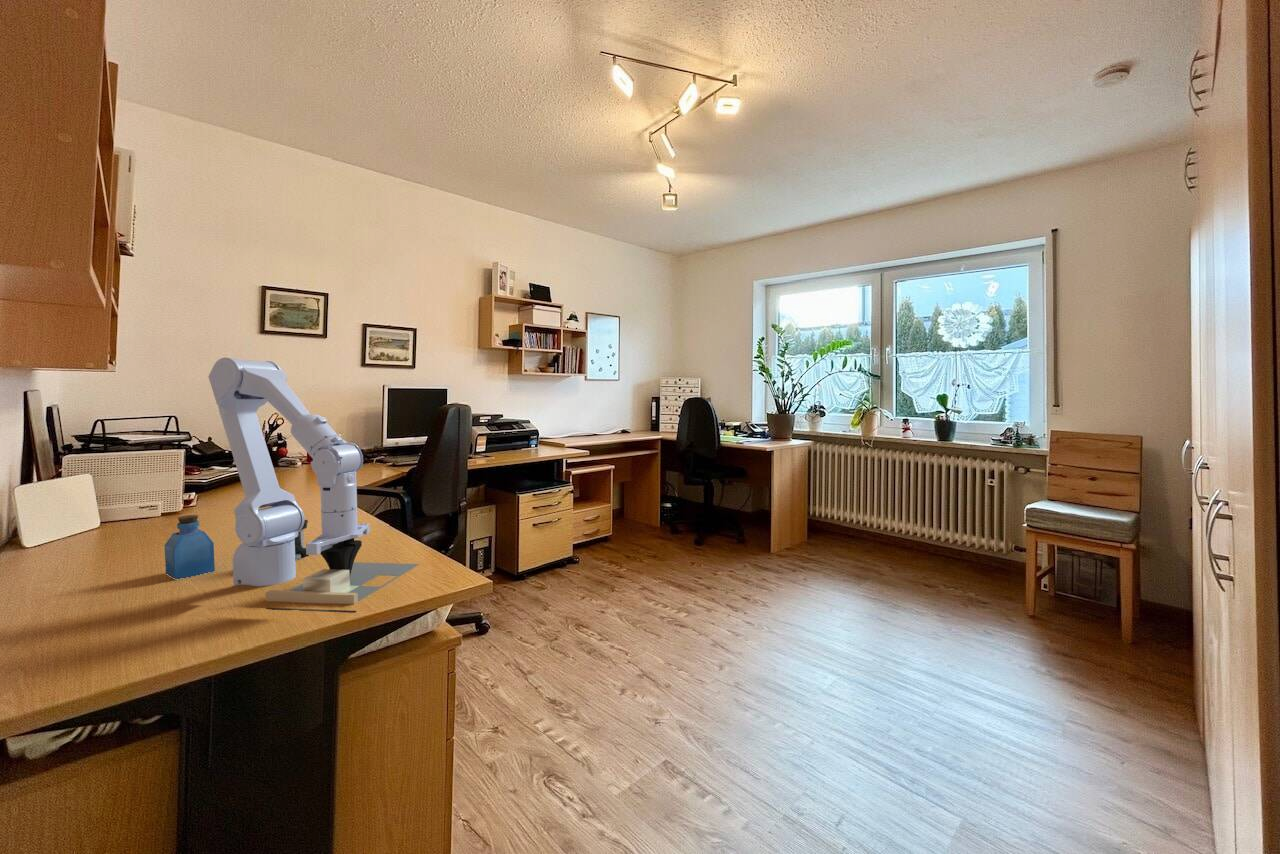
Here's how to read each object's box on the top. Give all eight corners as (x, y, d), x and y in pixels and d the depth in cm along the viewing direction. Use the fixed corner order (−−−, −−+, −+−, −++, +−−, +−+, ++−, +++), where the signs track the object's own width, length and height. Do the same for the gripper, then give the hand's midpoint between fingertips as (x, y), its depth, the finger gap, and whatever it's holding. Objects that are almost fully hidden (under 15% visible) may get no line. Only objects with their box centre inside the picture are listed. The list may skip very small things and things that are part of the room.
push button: (282, 569, 106) (280, 522, 106) (268, 565, 109) (266, 520, 108) (314, 560, 112) (312, 516, 112) (300, 557, 115) (298, 514, 114)
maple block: (303, 598, 86) (302, 578, 86) (324, 587, 91) (323, 569, 91) (330, 599, 86) (330, 579, 86) (350, 588, 91) (349, 569, 91)
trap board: (266, 609, 85) (265, 592, 85) (348, 569, 106) (348, 555, 106) (354, 612, 84) (353, 595, 84) (419, 571, 105) (419, 557, 105)
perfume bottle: (214, 571, 105) (212, 515, 104) (176, 580, 100) (173, 521, 99) (204, 566, 108) (201, 512, 108) (165, 574, 103) (163, 517, 103)
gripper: (332, 518, 84) (334, 597, 85) (383, 502, 99) (385, 569, 99) (293, 518, 85) (296, 596, 86) (350, 501, 99) (352, 568, 100)
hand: (341, 581), depth 93 cm, fingers closed
